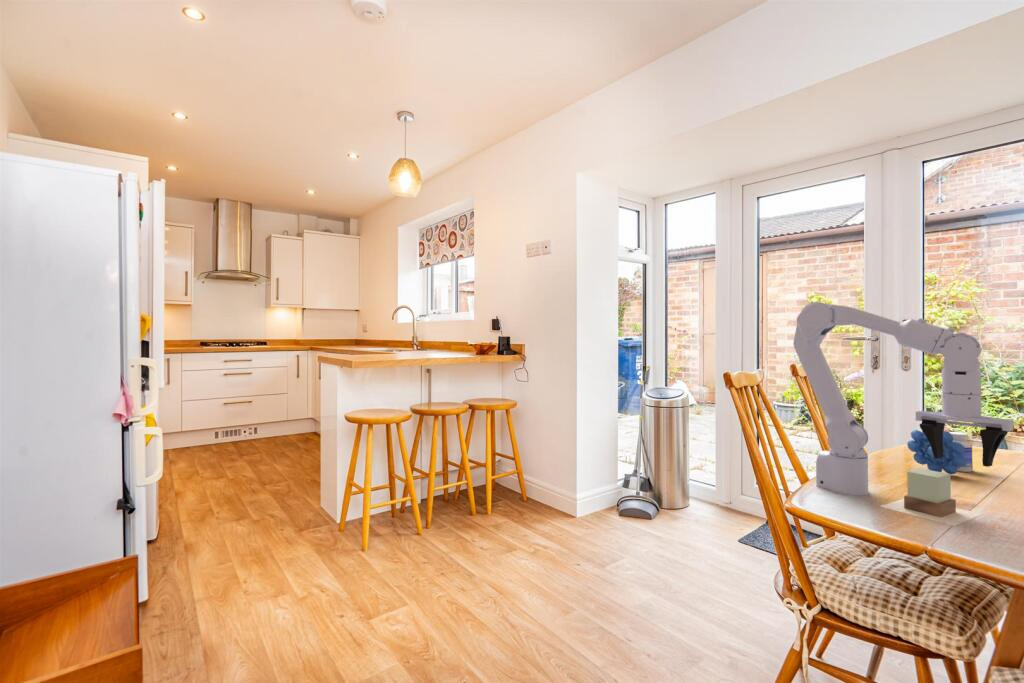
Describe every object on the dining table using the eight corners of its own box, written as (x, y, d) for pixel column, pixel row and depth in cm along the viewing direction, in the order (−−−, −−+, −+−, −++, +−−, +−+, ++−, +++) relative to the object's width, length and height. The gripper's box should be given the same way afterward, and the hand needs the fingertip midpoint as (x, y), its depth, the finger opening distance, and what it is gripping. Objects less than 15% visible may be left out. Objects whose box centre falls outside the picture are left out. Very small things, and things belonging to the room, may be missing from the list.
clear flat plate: (879, 510, 99) (879, 506, 99) (909, 500, 105) (909, 496, 105) (954, 530, 89) (954, 525, 89) (982, 518, 94) (982, 514, 94)
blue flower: (904, 472, 127) (904, 426, 127) (909, 467, 131) (908, 423, 131) (965, 481, 118) (964, 432, 118) (967, 475, 123) (967, 428, 123)
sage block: (907, 496, 98) (907, 471, 98) (920, 492, 100) (919, 468, 100) (938, 503, 93) (938, 477, 93) (950, 499, 96) (950, 474, 96)
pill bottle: (978, 472, 126) (978, 434, 126) (958, 472, 126) (957, 435, 126) (959, 466, 131) (958, 431, 131) (939, 467, 131) (938, 431, 131)
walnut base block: (904, 508, 98) (904, 495, 98) (918, 503, 101) (918, 491, 101) (941, 517, 93) (941, 504, 93) (955, 512, 95) (955, 499, 95)
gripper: (908, 391, 101) (908, 456, 101) (1002, 398, 89) (1003, 472, 89) (924, 389, 105) (925, 452, 105) (1017, 396, 92) (1018, 467, 92)
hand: (962, 461), depth 97 cm, fingers open, 7 cm apart
